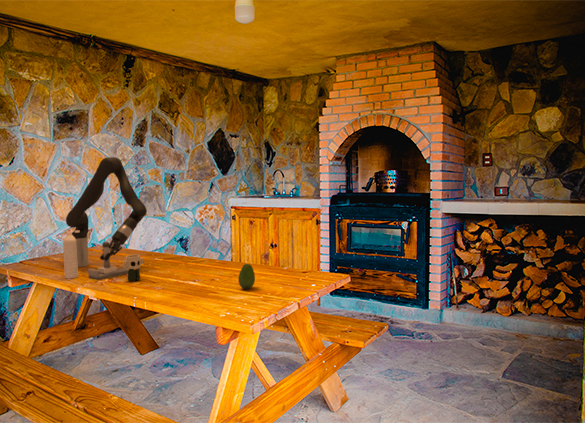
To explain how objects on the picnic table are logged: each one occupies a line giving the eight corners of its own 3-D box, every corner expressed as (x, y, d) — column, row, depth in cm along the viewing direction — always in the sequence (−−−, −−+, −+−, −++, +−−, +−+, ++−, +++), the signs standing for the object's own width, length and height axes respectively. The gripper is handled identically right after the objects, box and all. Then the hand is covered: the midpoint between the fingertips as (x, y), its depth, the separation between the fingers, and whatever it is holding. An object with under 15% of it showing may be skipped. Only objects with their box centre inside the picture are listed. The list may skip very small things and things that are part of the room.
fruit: (256, 290, 200) (256, 264, 199) (240, 291, 198) (239, 266, 197) (253, 285, 207) (253, 261, 206) (237, 287, 205) (236, 262, 204)
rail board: (88, 278, 228) (88, 268, 228) (129, 269, 249) (129, 260, 248) (98, 280, 223) (97, 270, 223) (139, 271, 243) (139, 262, 243)
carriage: (97, 271, 231) (96, 242, 229) (109, 269, 237) (108, 240, 235) (104, 273, 227) (103, 243, 226) (116, 270, 233) (115, 241, 232)
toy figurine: (127, 283, 215) (126, 258, 214) (120, 281, 220) (119, 256, 219) (147, 279, 223) (146, 255, 222) (140, 277, 228) (139, 253, 227)
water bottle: (67, 279, 226) (64, 232, 223) (63, 277, 230) (60, 231, 228) (84, 276, 232) (82, 230, 230) (79, 274, 236) (77, 230, 234)
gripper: (110, 229, 240) (90, 254, 231) (125, 231, 232) (105, 257, 223) (119, 237, 245) (100, 262, 236) (134, 239, 237) (115, 265, 228)
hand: (103, 259), depth 230 cm, fingers closed on carriage, 3 cm apart
